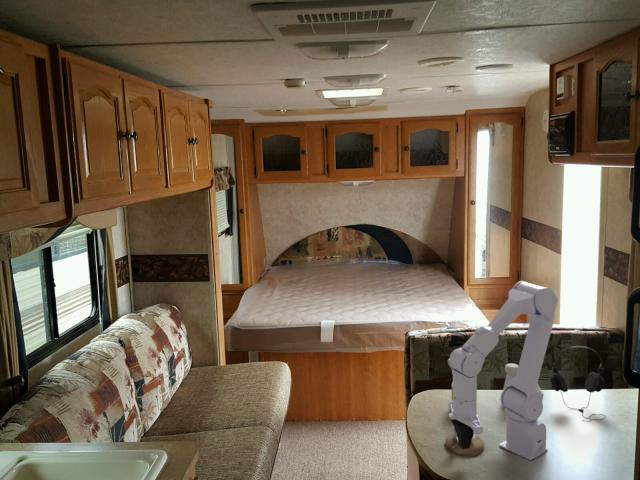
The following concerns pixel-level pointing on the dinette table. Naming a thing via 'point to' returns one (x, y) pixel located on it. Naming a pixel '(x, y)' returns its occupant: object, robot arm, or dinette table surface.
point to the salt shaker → (510, 372)
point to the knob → (455, 438)
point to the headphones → (591, 383)
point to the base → (474, 449)
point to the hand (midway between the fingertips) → (464, 447)
